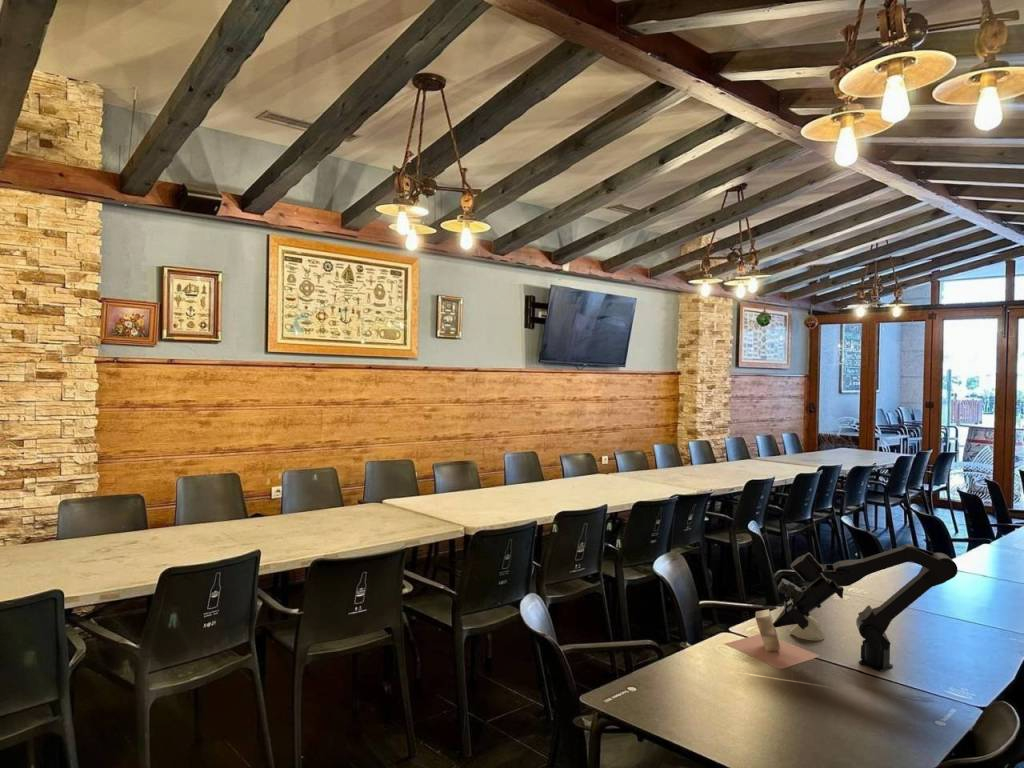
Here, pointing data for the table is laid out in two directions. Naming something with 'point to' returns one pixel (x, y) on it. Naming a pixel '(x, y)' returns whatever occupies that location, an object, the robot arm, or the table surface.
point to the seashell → (809, 631)
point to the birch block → (767, 630)
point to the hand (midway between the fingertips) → (774, 625)
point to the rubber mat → (772, 652)
